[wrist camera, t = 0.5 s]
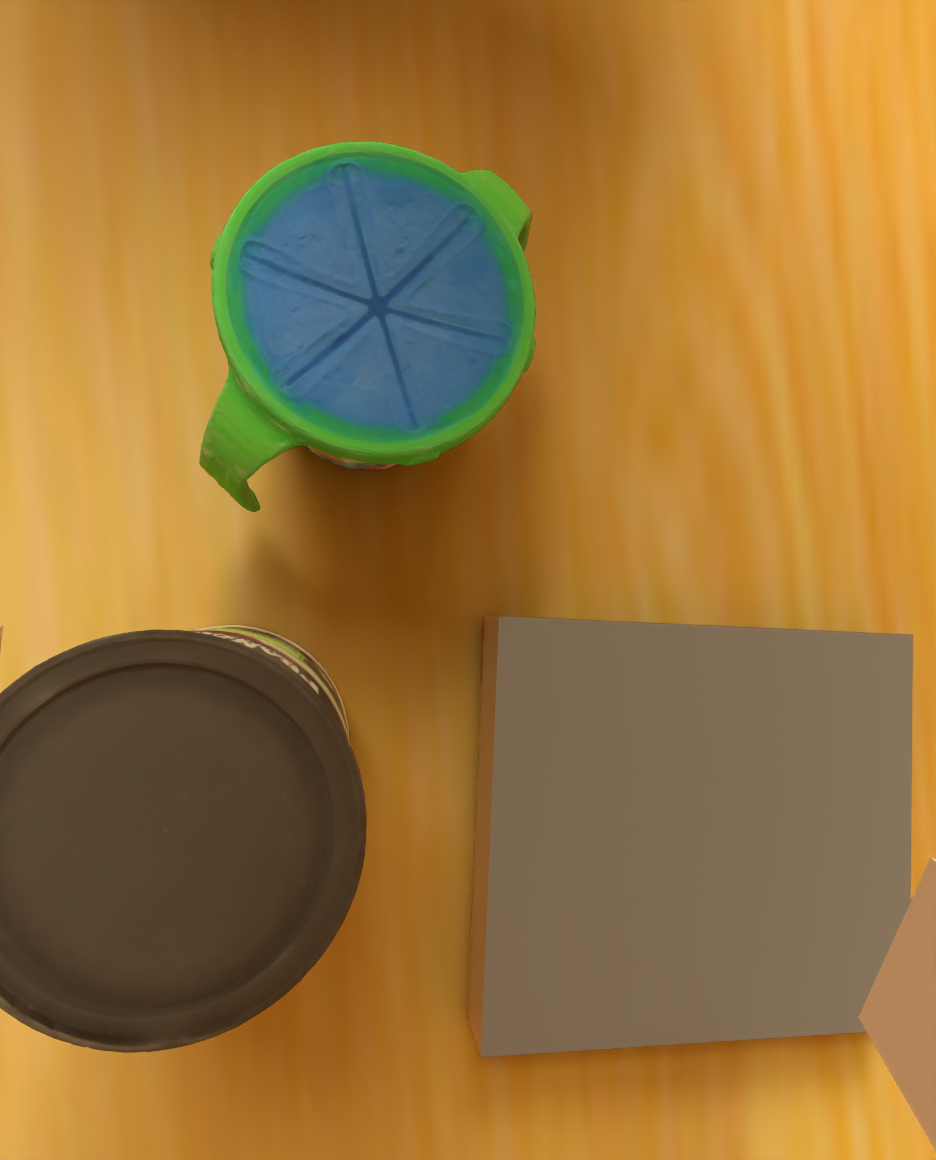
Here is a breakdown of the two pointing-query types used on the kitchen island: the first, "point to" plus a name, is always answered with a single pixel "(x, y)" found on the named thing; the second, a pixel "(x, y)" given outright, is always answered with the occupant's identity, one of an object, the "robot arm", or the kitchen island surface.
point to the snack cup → (366, 311)
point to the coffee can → (171, 834)
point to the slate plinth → (685, 832)
